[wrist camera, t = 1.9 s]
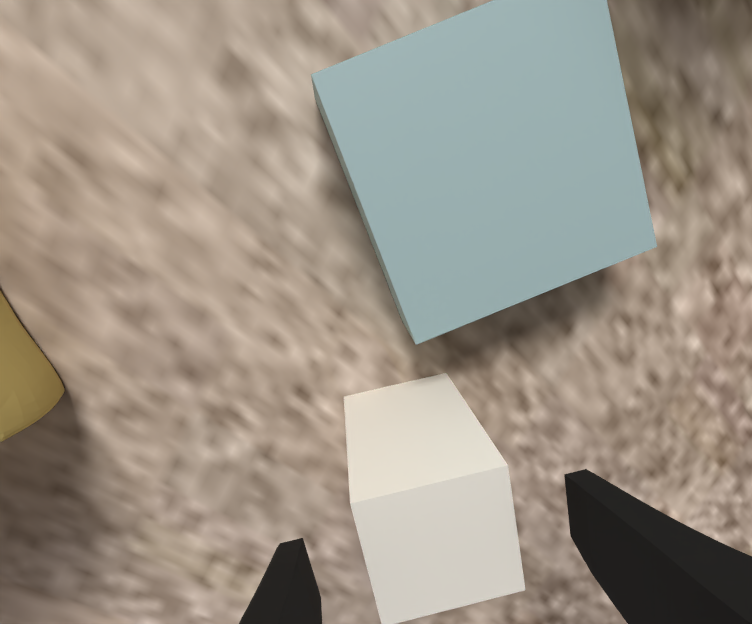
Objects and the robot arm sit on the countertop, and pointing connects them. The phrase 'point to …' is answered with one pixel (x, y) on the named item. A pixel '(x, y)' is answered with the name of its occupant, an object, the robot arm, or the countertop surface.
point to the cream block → (429, 500)
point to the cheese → (23, 377)
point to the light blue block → (490, 157)
